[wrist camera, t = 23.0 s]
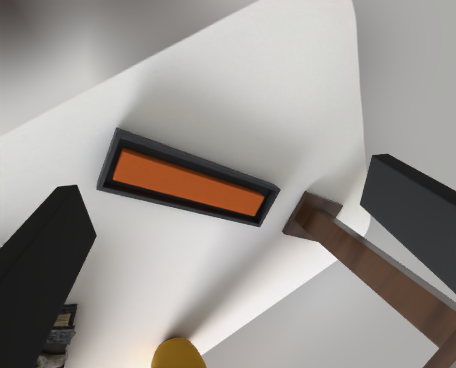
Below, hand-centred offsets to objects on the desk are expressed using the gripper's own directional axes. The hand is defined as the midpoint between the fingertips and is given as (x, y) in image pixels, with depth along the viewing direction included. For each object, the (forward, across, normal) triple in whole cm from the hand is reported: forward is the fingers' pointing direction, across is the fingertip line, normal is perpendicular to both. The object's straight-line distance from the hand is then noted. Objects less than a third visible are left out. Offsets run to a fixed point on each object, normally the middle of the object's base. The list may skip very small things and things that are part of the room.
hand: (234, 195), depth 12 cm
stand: (+32, +22, -28) cm, 48 cm away
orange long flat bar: (+26, -2, -13) cm, 29 cm away
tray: (+26, -2, -14) cm, 30 cm away
